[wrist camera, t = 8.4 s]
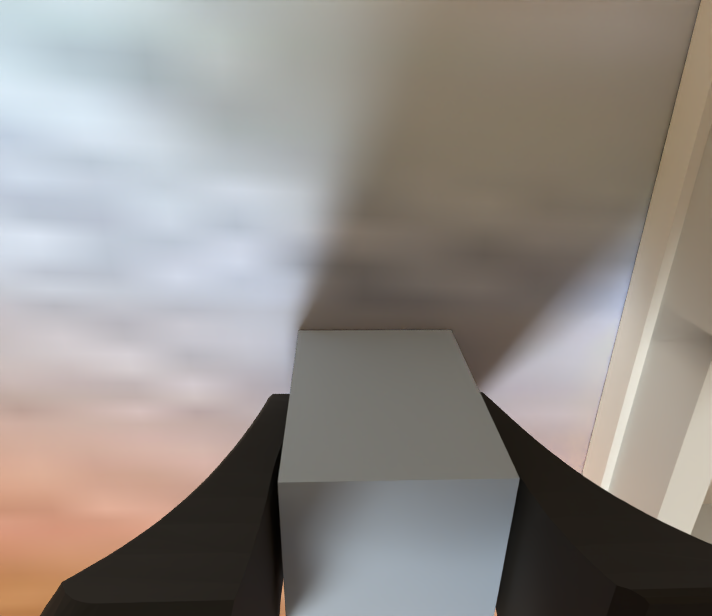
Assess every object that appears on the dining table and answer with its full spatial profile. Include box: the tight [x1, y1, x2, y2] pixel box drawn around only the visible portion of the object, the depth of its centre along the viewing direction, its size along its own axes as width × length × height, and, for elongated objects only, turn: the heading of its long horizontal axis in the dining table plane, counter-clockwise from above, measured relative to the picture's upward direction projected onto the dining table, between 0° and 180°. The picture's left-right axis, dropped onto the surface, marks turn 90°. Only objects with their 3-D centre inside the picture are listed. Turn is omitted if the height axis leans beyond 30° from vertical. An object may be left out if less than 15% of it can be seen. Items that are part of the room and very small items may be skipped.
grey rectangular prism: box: [278, 330, 520, 616], centre depth 12 cm, size 4×4×6 cm
